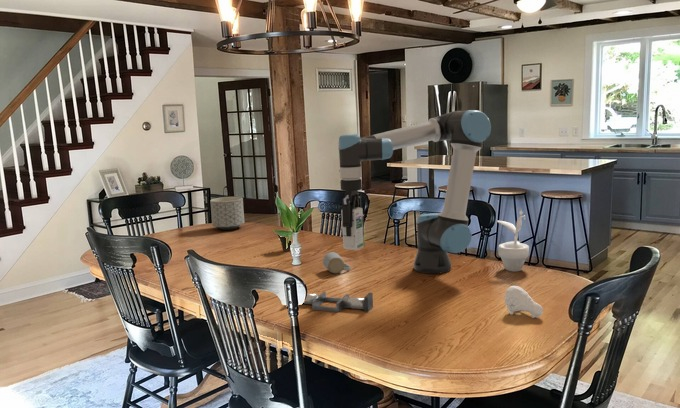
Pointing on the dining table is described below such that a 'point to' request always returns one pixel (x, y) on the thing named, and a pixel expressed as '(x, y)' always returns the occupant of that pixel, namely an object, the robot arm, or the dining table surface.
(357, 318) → the dining table surface
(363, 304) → the coupling cradle
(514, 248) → the potted plant
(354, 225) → the syrup box
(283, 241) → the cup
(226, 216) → the planter
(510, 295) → the white lumpy piece
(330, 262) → the ceramic mug
